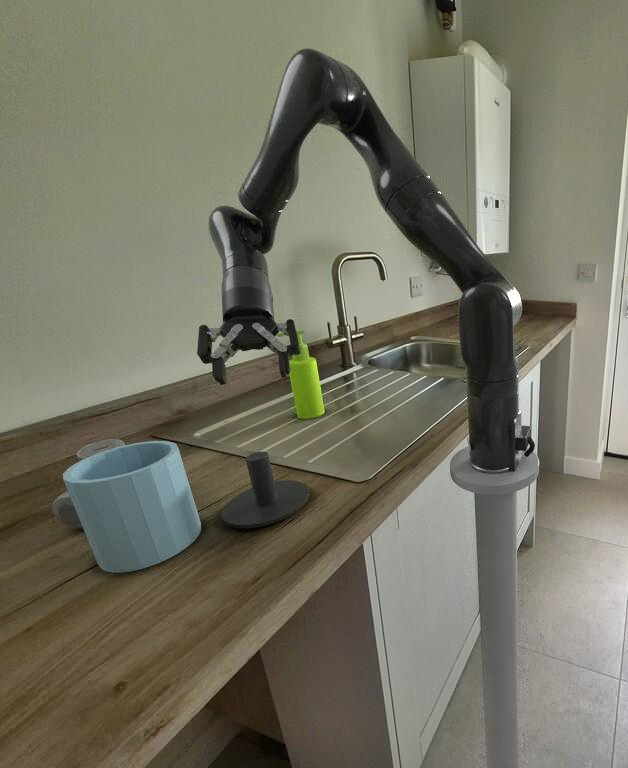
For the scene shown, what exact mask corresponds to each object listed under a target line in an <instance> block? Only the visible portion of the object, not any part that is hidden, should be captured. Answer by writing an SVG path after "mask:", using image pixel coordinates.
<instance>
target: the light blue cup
mask: <svg viewBox="0 0 628 768" xmlns="http://www.w3.org/2000/svg"><path fill="white" fill-rule="evenodd" d="M62 480H63V483H64V486H65V488H66V487H67V490H68V492H69V495H70V497H71V500H72V502H73V505H74V507H75V509H76V512H77V514H78V517H79V519H80V522H81V524H82V526H83V529H82V530H83V531H84V533H85V536H86V539H87V541H88V543H89V546H90V548H91V552H92V553H93V556H94V558H95V561H96V563H97V565H98V567H99V568H100V569H101V570H103V571H104V572H108V573H114V574H118V573H119V574H123V573H130V572H134V571H139V570H143V569H146V568H149V567H152V566H155V565H158V564H160V563H163V562H165V561H167V560H168V559H171V558H172V557H174V556H176V555H177V554H179V553H181V552H183V551H184V550H185V549H187V548H189V546H191V544H193V543H194V542H195V541H196V540H197V539H198V537H199V536H200V534H201V531H202V522H201V519H200V516H199V513H198V509H197V506H196V503H195V499H194V496H193V492H192V489H191V486H190V483H189V478H188V476H187V471H186V468H185V466H184V462H183V460H182V455H181V452H180V449H179V446H178V445H177V443H175V442H172V441H168V440H150V441H142V442H141V441H140V442H134V443H129V444H125V446H120V447H117V448H113V449H110V450H107V451H103V452H100V453H98V454H95V455H93V456H90V457H88V458H85V459H83V460H81V461H79V460H78V462H76V463H74V464H72V465H70V466H69V467H68V468H67V469H66V470H65V471H64V472H63V473H62Z"/></svg>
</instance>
